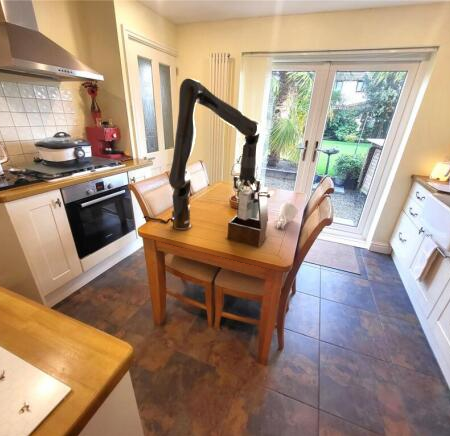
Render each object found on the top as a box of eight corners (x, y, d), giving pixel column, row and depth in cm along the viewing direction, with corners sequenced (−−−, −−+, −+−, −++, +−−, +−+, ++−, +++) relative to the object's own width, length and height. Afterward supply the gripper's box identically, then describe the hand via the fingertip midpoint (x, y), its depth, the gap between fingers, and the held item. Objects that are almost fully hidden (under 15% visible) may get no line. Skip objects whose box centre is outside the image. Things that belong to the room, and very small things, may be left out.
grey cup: (257, 221, 146) (258, 203, 141) (241, 219, 148) (242, 202, 143) (258, 215, 155) (260, 198, 150) (243, 213, 157) (244, 196, 152)
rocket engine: (281, 215, 132) (290, 200, 144) (266, 222, 140) (276, 207, 152) (293, 231, 134) (301, 214, 146) (277, 237, 142) (286, 220, 154)
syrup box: (243, 214, 126) (244, 188, 120) (252, 217, 123) (254, 191, 117) (236, 217, 122) (238, 191, 116) (245, 220, 119) (247, 193, 113)
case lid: (257, 193, 108) (268, 193, 106) (264, 187, 118) (275, 187, 115) (259, 229, 115) (269, 230, 112) (266, 220, 124) (276, 221, 122)
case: (227, 238, 126) (228, 222, 122) (236, 230, 135) (237, 214, 131) (258, 247, 119) (260, 230, 115) (265, 237, 129) (267, 221, 124)
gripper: (265, 166, 111) (261, 198, 119) (237, 162, 117) (236, 193, 124) (260, 169, 105) (256, 203, 112) (231, 164, 111) (230, 197, 118)
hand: (245, 198), depth 118 cm, fingers closed on syrup box, 6 cm apart
